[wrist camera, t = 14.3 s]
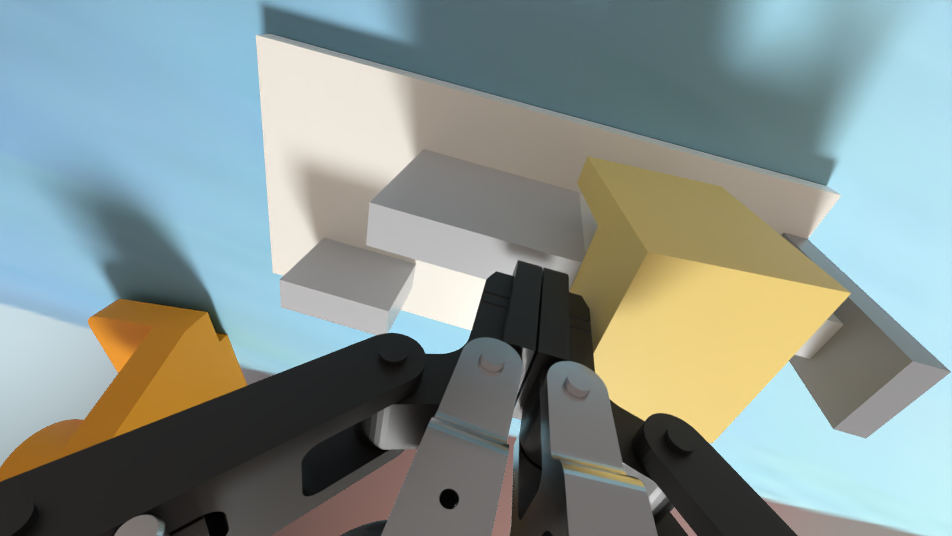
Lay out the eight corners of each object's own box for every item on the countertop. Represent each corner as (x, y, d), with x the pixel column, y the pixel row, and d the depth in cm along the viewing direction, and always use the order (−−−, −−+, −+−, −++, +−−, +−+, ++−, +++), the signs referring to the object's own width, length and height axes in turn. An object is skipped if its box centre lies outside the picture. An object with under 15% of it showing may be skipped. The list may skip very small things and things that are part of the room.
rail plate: (283, 263, 24) (166, 368, 17) (270, 33, 17) (69, 48, 10) (682, 379, 23) (735, 540, 16) (827, 186, 17) (1022, 314, 10)
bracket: (120, 290, 28) (-126, 445, 18) (216, 304, 27) (13, 476, 17) (176, 396, 34) (14, 559, 24) (257, 411, 33) (123, 587, 23)
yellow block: (535, 292, 17) (558, 419, 12) (587, 156, 14) (647, 251, 9) (646, 312, 18) (712, 443, 13) (721, 186, 15) (851, 293, 9)
